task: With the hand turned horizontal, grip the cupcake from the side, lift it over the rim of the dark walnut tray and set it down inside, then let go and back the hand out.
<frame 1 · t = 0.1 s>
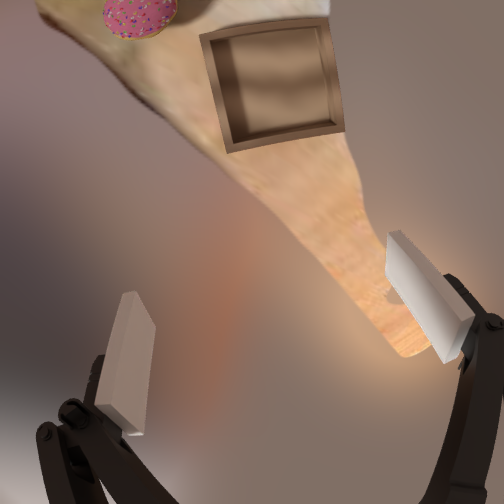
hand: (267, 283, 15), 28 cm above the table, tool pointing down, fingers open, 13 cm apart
tray: (271, 81, 34), on the table
cupcake: (148, 14, 28), on the table
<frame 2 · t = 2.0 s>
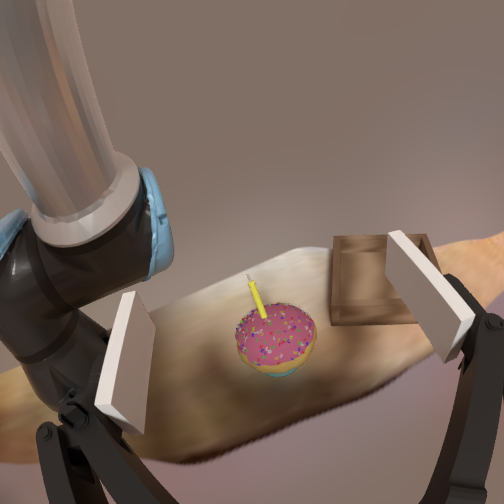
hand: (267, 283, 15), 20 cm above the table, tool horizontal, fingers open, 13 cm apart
tray: (385, 284, 41), on the table
cupcake: (281, 361, 34), on the table
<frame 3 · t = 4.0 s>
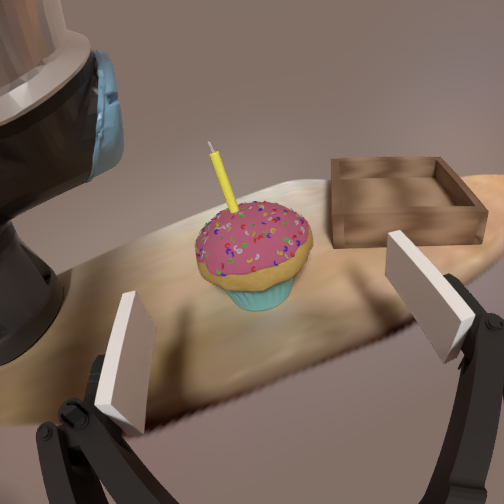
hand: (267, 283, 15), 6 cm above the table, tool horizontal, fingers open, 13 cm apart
tray: (399, 208, 31), on the table
cupcake: (263, 292, 25), on the table
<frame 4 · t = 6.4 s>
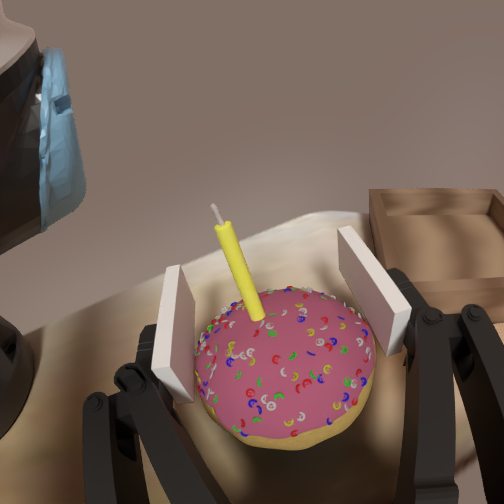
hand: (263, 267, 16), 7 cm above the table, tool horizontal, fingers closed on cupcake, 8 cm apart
tray: (456, 261, 23), on the table
cupcake: (293, 405, 16), on the table, touching gripper
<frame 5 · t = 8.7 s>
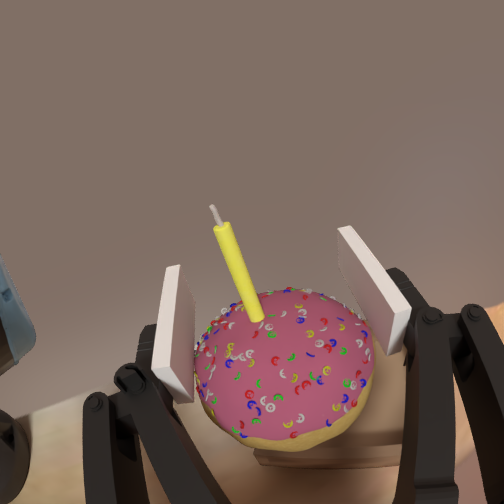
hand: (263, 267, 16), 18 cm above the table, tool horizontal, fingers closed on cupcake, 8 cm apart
tray: (348, 398, 27), on the table
cupcake: (293, 406, 16), point 12 cm above the table, touching gripper
when the fingers open (9 cm above the table, at t = 11.3 s): cupcake drops 1 cm, resting on tray.
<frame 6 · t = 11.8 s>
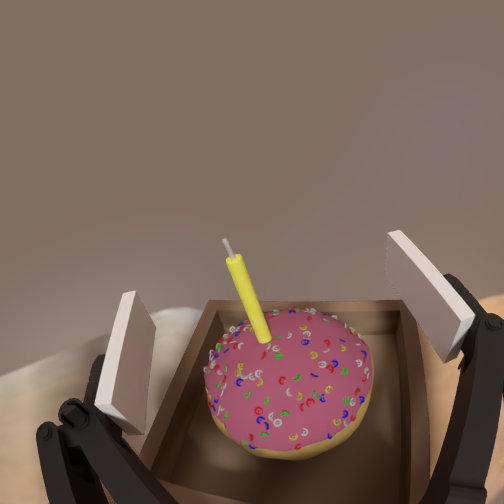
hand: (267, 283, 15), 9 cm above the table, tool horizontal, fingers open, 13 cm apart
tray: (297, 420, 17), on the table
cupcake: (295, 415, 17), point 1 cm above the table, touching tray
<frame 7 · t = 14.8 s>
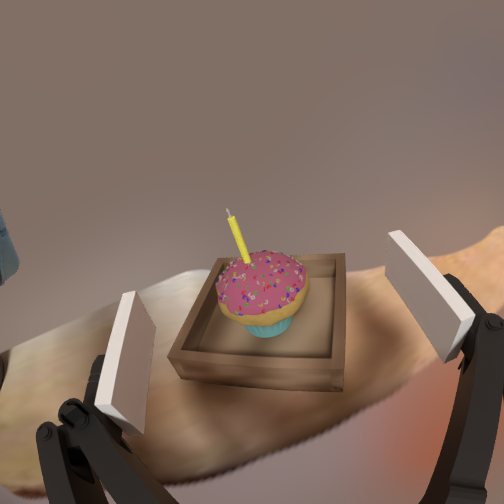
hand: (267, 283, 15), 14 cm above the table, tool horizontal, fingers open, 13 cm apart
tray: (271, 326, 31), on the table
cupcake: (270, 321, 31), point 1 cm above the table, touching tray
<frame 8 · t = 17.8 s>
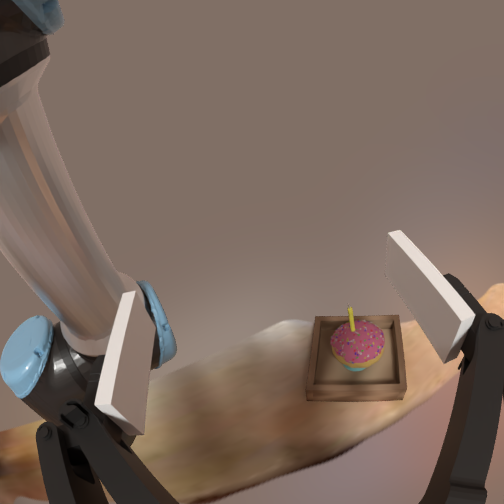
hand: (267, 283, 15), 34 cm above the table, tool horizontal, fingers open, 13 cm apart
tray: (356, 362, 47), on the table
cupcake: (356, 360, 46), point 1 cm above the table, touching tray
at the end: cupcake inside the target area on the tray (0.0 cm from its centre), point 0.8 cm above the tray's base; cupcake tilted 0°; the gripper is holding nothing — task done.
